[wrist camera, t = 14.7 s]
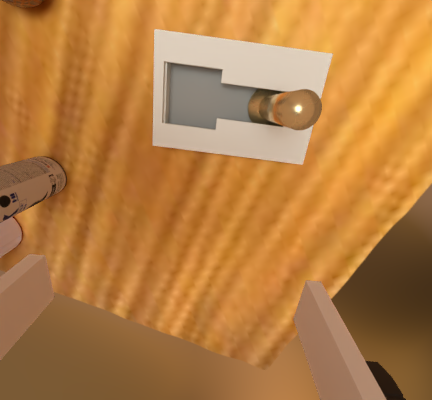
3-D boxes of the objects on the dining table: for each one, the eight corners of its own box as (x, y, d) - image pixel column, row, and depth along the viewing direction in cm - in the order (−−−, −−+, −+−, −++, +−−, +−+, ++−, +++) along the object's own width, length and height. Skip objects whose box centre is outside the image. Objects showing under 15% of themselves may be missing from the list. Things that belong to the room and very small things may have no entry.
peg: (251, 82, 32) (274, 64, 18) (293, 87, 32) (349, 74, 18) (244, 126, 34) (259, 142, 20) (283, 131, 35) (326, 151, 20)
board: (162, 37, 31) (154, 28, 28) (320, 59, 32) (332, 53, 28) (159, 141, 37) (152, 145, 33) (295, 159, 37) (302, 164, 34)
